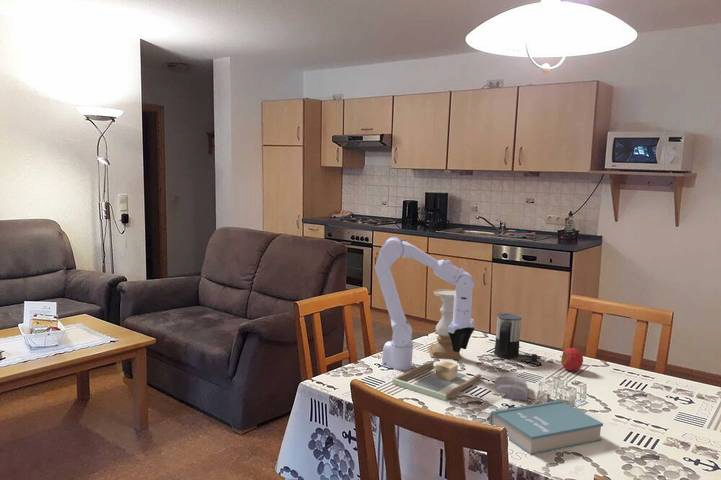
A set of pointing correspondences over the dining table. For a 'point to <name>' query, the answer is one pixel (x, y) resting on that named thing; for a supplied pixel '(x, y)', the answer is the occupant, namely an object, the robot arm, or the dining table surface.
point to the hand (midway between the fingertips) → (459, 350)
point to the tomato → (572, 359)
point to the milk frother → (509, 337)
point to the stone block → (511, 387)
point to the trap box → (433, 383)
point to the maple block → (446, 370)
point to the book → (547, 426)
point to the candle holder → (444, 328)
